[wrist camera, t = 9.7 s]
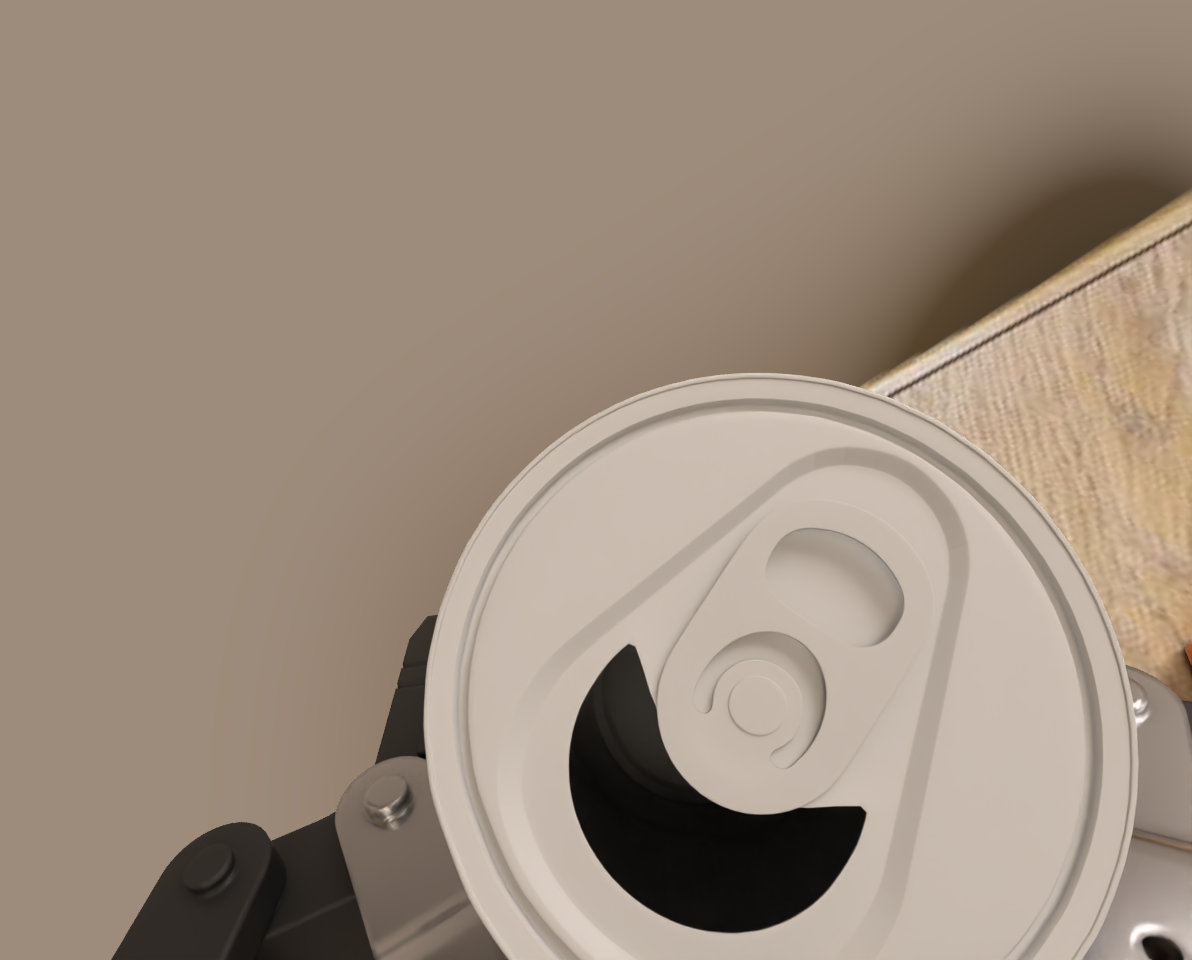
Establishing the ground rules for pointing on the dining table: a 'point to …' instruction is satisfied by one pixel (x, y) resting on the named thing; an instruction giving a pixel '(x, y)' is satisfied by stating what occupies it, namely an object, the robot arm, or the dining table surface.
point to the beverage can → (778, 693)
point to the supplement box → (1189, 651)
